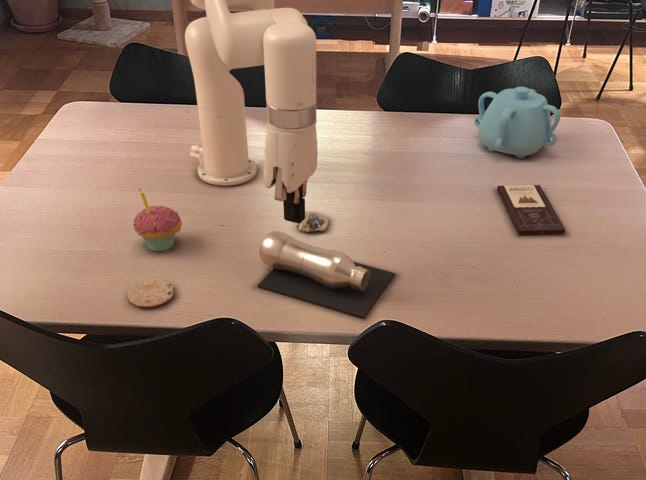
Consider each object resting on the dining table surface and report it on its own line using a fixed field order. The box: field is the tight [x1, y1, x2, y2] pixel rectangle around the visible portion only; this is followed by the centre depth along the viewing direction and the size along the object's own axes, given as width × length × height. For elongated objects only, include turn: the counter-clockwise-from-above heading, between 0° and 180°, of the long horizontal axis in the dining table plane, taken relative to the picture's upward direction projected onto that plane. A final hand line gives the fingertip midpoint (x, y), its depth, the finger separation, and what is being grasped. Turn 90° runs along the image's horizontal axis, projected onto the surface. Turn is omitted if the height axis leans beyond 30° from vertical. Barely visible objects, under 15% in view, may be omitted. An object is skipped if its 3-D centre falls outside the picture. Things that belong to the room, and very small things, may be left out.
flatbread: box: [127, 277, 174, 308], centre depth 122 cm, size 8×8×1 cm
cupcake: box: [132, 187, 183, 252], centre depth 130 cm, size 9×8×12 cm
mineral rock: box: [295, 213, 330, 233], centre depth 140 cm, size 7×8×2 cm
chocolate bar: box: [496, 184, 566, 236], centre depth 145 cm, size 9×1×18 cm
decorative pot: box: [473, 86, 561, 159], centre depth 163 cm, size 16×16×14 cm
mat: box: [257, 261, 396, 320], centre depth 126 cm, size 20×14×1 cm
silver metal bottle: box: [259, 230, 370, 291], centre depth 123 cm, size 6×7×20 cm
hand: (294, 219), depth 121 cm, fingers closed
